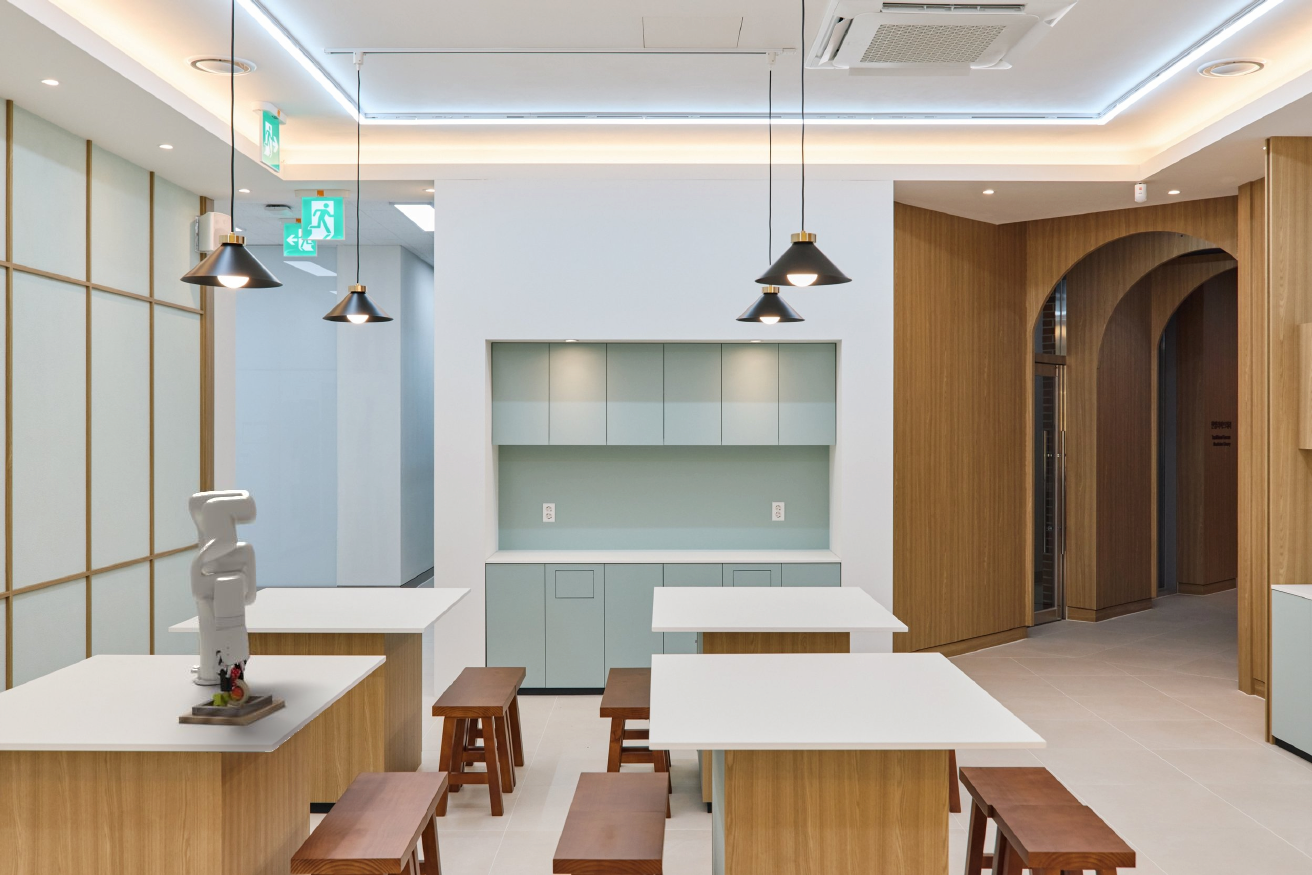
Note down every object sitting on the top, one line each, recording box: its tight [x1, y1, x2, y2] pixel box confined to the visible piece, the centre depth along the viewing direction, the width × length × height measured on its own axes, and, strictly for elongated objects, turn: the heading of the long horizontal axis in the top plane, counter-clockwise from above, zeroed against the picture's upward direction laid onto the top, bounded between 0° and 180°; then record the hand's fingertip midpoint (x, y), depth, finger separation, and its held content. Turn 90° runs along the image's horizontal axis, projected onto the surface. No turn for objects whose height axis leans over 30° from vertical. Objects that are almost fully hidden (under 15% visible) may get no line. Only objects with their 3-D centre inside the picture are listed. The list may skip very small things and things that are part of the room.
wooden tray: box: [178, 693, 286, 726], centre depth 246 cm, size 20×17×4 cm
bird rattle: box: [212, 667, 251, 707], centre depth 246 cm, size 6×11×9 cm
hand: (232, 688), depth 246 cm, fingers open, 4 cm apart
